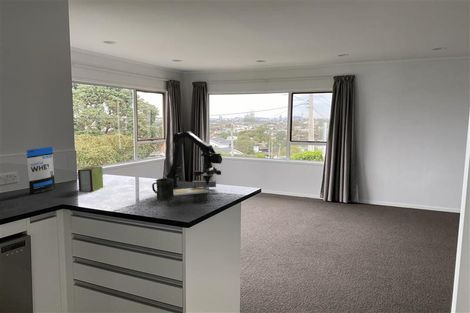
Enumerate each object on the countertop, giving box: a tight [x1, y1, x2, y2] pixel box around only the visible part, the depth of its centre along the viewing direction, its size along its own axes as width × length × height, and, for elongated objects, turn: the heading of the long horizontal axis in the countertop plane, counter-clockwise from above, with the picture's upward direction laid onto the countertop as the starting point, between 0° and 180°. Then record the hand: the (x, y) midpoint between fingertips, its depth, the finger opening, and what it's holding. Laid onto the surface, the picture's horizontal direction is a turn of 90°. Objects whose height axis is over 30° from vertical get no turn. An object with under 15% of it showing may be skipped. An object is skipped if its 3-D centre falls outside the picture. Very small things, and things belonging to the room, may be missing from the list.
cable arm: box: [191, 180, 217, 188], centre depth 247 cm, size 17×4×4 cm, turn 91°
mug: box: [151, 177, 175, 201], centre depth 220 cm, size 11×15×12 cm
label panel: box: [173, 187, 210, 197], centre depth 239 cm, size 15×24×2 cm, turn 113°
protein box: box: [77, 165, 104, 193], centre depth 248 cm, size 10×15×16 cm
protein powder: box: [26, 146, 56, 196], centre depth 242 cm, size 10×24×30 cm, turn 170°
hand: (207, 185), depth 244 cm, fingers closed
